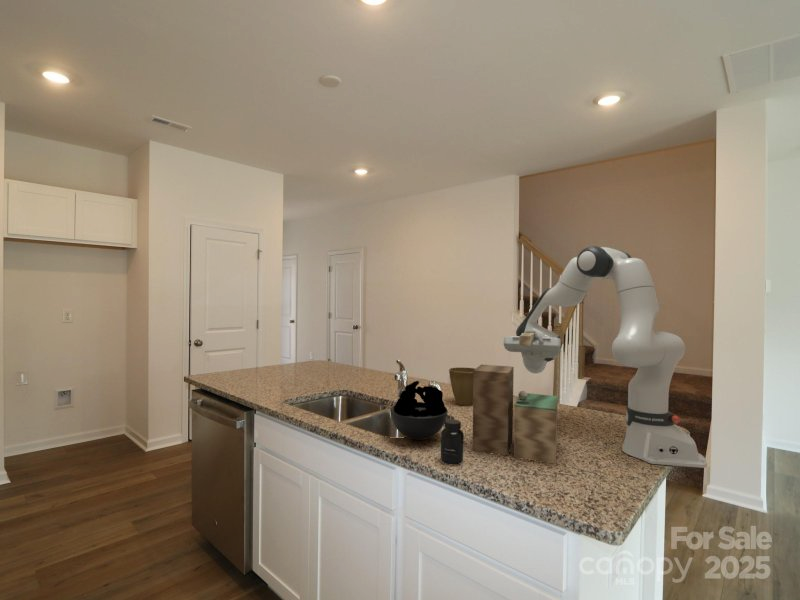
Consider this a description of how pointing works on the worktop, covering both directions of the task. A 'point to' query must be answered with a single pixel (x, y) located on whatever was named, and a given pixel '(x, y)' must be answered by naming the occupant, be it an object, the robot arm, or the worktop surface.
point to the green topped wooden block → (535, 427)
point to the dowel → (527, 338)
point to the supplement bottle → (452, 442)
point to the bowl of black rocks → (419, 412)
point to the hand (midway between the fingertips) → (530, 335)
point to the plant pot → (462, 385)
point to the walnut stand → (493, 409)
